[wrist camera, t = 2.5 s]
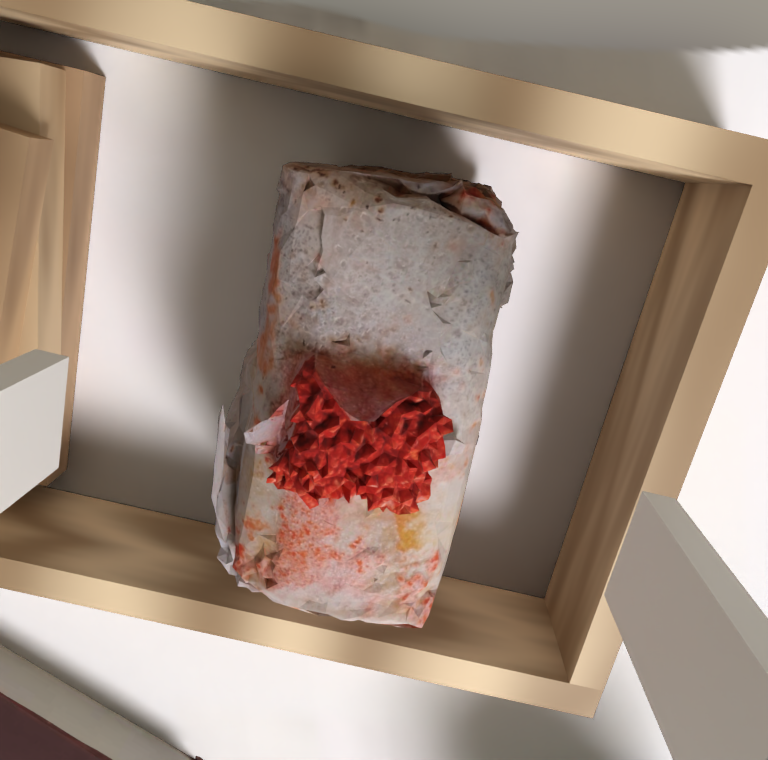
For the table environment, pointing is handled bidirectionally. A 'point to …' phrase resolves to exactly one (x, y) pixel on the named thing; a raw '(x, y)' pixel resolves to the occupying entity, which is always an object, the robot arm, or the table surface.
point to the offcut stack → (46, 210)
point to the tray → (619, 432)
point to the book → (65, 721)
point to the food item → (362, 390)
